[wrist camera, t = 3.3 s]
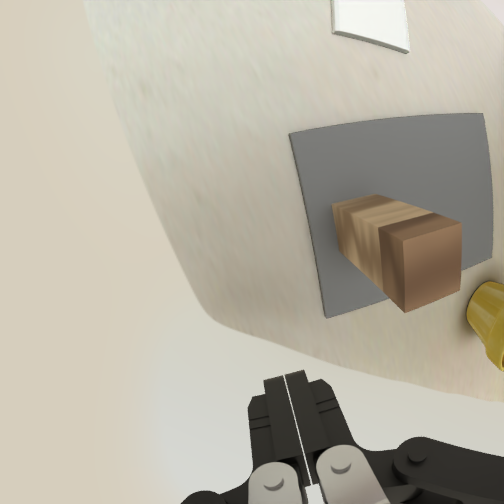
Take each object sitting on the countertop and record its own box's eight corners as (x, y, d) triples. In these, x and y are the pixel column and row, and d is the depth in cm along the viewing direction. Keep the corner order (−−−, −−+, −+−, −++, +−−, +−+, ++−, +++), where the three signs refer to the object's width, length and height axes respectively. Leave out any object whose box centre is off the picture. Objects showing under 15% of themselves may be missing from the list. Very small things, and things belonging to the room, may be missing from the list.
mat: (288, 133, 24) (290, 133, 24) (479, 113, 24) (482, 113, 23) (324, 315, 30) (326, 318, 29) (489, 255, 30) (491, 257, 29)
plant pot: (506, 303, 33) (546, 332, 23) (462, 347, 34) (500, 385, 25) (498, 253, 30) (548, 279, 20) (449, 301, 31) (498, 341, 22)
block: (331, 203, 26) (402, 241, 14) (375, 193, 26) (461, 222, 14) (339, 251, 27) (404, 313, 16) (381, 239, 27) (459, 290, 16)
